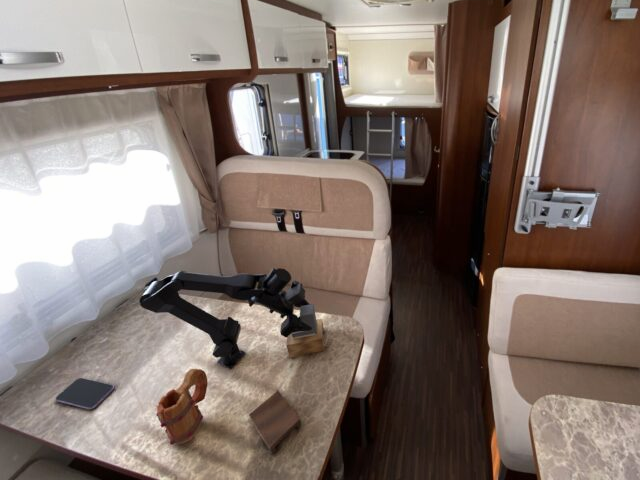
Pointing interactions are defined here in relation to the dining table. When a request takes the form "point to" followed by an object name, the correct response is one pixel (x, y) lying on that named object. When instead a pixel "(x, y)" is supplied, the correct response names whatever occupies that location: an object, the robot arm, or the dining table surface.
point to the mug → (183, 408)
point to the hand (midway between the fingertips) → (311, 318)
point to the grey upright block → (307, 321)
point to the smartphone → (85, 393)
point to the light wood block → (306, 342)
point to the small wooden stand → (274, 420)
